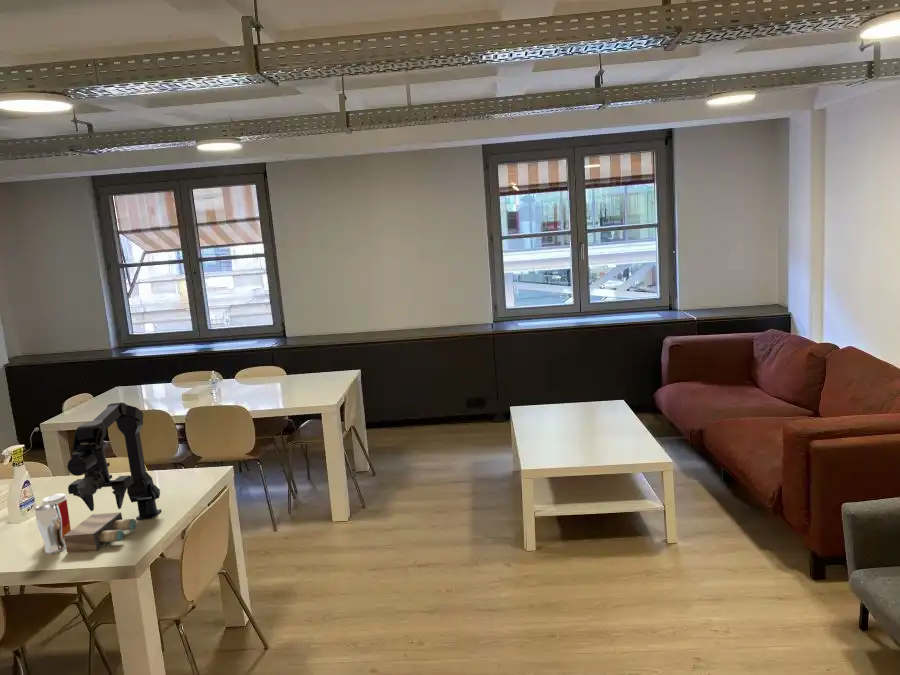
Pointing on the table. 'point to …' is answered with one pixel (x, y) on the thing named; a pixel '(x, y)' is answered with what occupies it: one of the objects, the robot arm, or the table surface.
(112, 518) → the socket block
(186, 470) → the table surface
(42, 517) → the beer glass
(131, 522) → the dowel
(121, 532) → the dowel
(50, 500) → the red canister
